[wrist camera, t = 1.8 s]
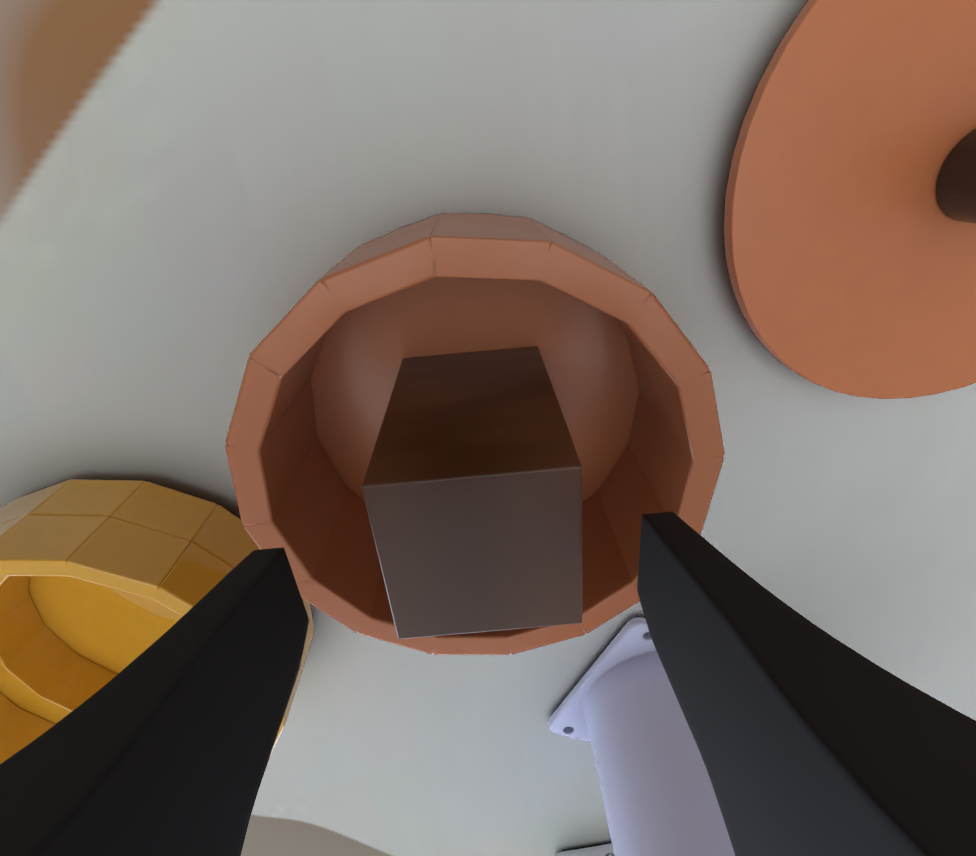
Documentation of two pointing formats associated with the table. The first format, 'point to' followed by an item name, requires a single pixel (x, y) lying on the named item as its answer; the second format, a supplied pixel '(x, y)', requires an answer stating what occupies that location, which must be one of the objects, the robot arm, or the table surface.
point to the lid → (862, 198)
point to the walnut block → (476, 497)
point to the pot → (461, 329)
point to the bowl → (100, 589)
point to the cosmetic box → (590, 851)
